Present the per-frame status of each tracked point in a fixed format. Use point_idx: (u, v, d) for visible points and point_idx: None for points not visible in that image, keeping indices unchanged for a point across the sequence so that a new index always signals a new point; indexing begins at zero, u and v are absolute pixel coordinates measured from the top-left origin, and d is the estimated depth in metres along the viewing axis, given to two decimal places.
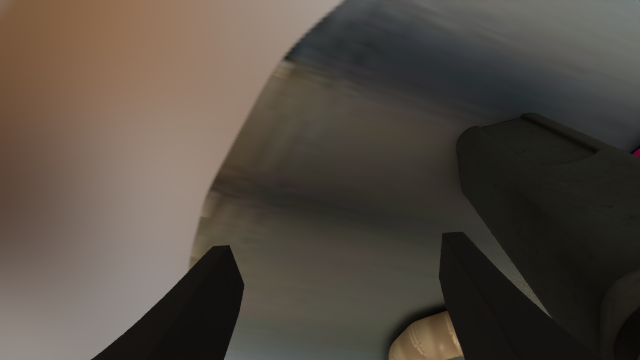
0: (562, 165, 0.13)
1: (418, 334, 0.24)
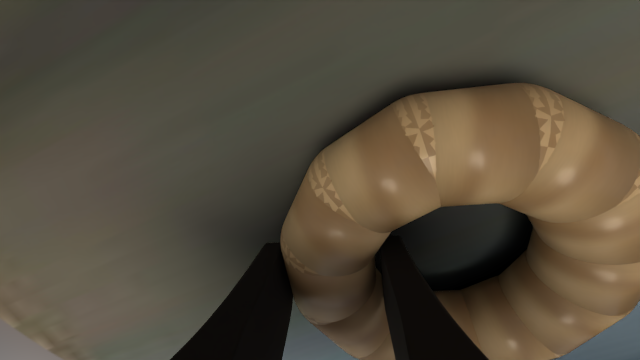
0: None
1: (284, 234, 0.10)
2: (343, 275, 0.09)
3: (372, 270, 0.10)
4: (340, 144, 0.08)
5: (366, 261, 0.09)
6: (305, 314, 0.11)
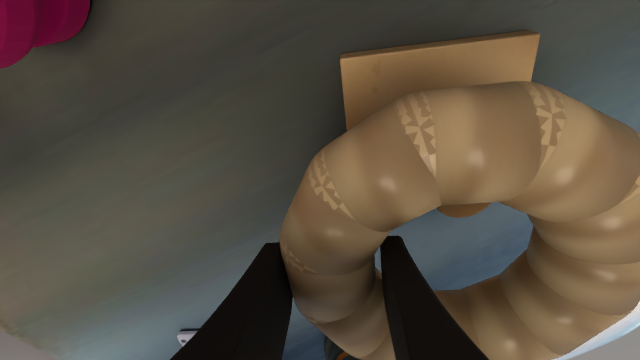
0: None
1: (283, 233, 0.10)
2: (342, 274, 0.09)
3: (372, 269, 0.10)
4: (340, 142, 0.08)
5: (366, 260, 0.09)
6: (304, 313, 0.11)
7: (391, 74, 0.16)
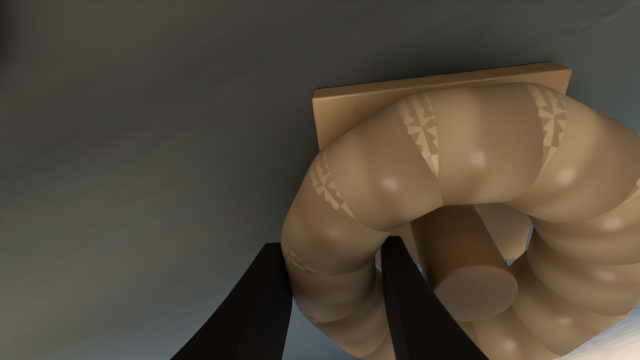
0: None
1: (285, 232, 0.10)
2: (343, 274, 0.09)
3: (372, 269, 0.10)
4: (342, 142, 0.08)
5: (367, 260, 0.09)
6: (305, 313, 0.11)
7: None
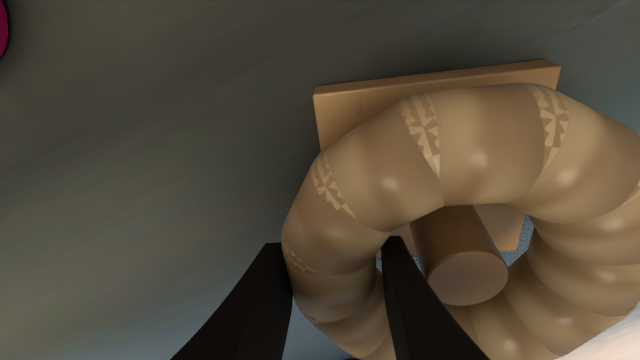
0: None
1: (285, 232, 0.10)
2: (344, 274, 0.09)
3: (373, 269, 0.10)
4: (343, 142, 0.08)
5: (367, 260, 0.09)
6: (305, 313, 0.11)
7: (376, 113, 0.13)
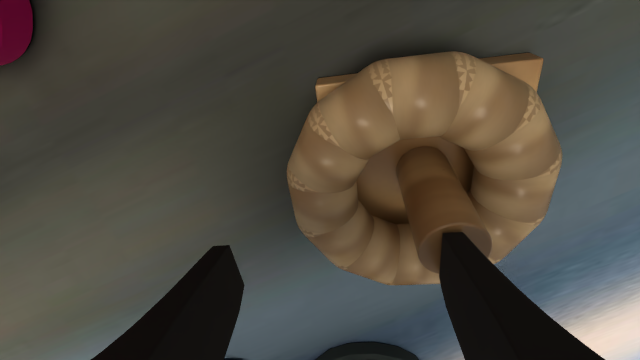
0: None
1: (290, 165, 0.14)
2: (332, 193, 0.13)
3: (354, 195, 0.14)
4: (330, 95, 0.12)
5: (349, 183, 0.13)
6: (305, 230, 0.14)
7: None
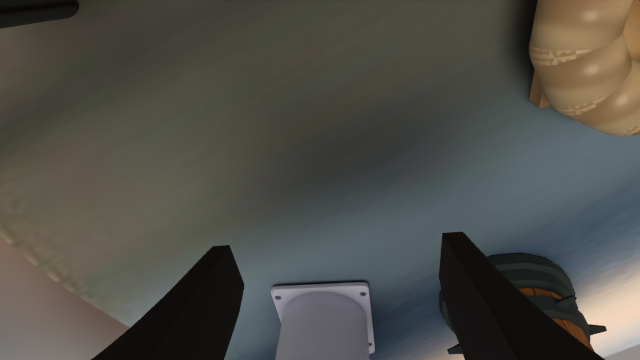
0: None
1: None
2: None
3: None
4: None
5: None
6: (563, 51, 0.13)
7: None
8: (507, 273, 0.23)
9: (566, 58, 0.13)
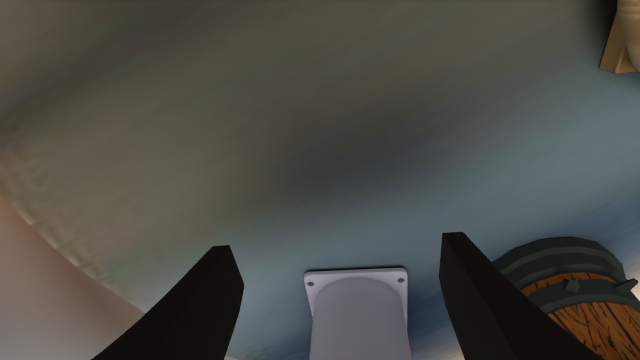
0: None
1: None
2: None
3: None
4: None
5: None
6: None
7: None
8: (558, 256, 0.21)
9: None
